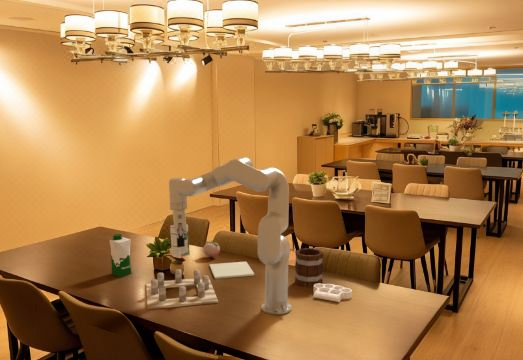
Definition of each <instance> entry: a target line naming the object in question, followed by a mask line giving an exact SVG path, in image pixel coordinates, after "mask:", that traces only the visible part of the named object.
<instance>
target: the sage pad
mask: <svg viewBox="0 0 523 360" xmlns="http://www.w3.org/2000/svg"><path fill="white" fill-rule="evenodd" d="M209 268H210V270H211V273H212V275H213V278H214V280H218V279H229V278H243V277H244V278H245V277H253V276H254V277H255V272H254V271H253V270H252V268H251V266H250V265H249V263H248V262H247V261H238V262H235V261H234V262H222V263H211V264H210V263H209Z"/></svg>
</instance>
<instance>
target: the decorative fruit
mask: <svg viewBox="0 0 523 360" xmlns="http://www.w3.org/2000/svg"><path fill="white" fill-rule="evenodd" d="M212 241H213V240H209V241H205V242H204V245H203V253H204V254H205V255H206V256H207V257H210V258H211V259H212V258H214V257H216V256H217V255H218V254H219V253H220V251H221V248H220V244H219V243H217V242H216V241H214V242H212Z"/></svg>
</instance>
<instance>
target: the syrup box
mask: <svg viewBox="0 0 523 360" xmlns="http://www.w3.org/2000/svg"><path fill="white" fill-rule="evenodd" d="M178 226H179V224H178ZM169 228H170V230H169V231H170V241H171V242H170V244H171V257H174V258H177V259H182V258H185V257H188V256H190V255H191V253H190V237H189V225H188V223H186V230H187V231H186V232H185V231H184V230H183V233H184V243H185V246H184V247H177V232H176V231H175V226H174V224H171V225H170V227H169ZM178 231H179V228H178ZM178 234H179V233H178Z"/></svg>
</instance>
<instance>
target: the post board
mask: <svg viewBox="0 0 523 360" xmlns="http://www.w3.org/2000/svg"><path fill="white" fill-rule="evenodd" d="M174 272H175V273H174V277H175V278H174V280H173V279H172V280H165V274H164V273H163V272H158V273H156V278H155V279H151V280H150V281H149V282H147V281H146V284H145V285H146V306H147V310H157V309H168V308H177V307H178V308H179V307H188V306H189V307H190V306H200V305H208V304H209V305H210V304H218V303H219V300H218V297H217V295H216V292H215V289H214V287H213V285H212V282H211V279H210V276H209V275H207V274H206V275H202V276H201V270H200V269H195V270H193V278H184V279H182V276H183V275H182V268H181V269H180V268H178V269H175V270H174ZM193 286H194V287H195V286H196V290H197V296H187V288H186V287H193ZM169 288H178V297H176V298H167V292H166V290H167V289H169Z"/></svg>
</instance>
